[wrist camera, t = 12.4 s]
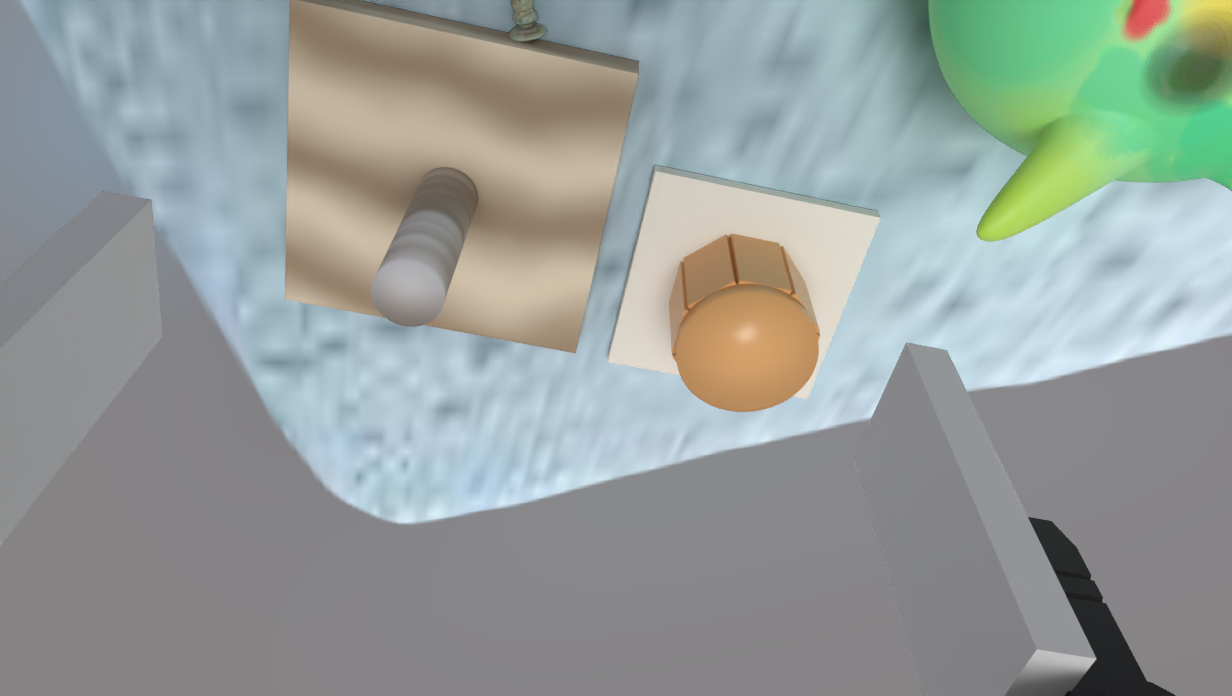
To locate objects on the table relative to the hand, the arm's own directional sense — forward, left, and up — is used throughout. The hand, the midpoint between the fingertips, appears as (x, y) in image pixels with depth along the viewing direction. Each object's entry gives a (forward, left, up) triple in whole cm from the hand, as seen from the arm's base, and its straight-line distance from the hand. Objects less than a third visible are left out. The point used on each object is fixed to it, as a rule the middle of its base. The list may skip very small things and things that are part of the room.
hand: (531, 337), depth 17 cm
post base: (+12, -5, -31) cm, 34 cm away
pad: (+15, +11, -31) cm, 36 cm away
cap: (+15, +11, -31) cm, 36 cm away
